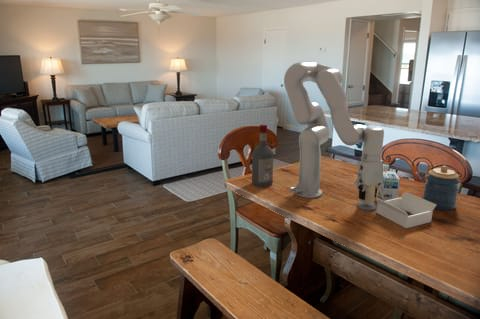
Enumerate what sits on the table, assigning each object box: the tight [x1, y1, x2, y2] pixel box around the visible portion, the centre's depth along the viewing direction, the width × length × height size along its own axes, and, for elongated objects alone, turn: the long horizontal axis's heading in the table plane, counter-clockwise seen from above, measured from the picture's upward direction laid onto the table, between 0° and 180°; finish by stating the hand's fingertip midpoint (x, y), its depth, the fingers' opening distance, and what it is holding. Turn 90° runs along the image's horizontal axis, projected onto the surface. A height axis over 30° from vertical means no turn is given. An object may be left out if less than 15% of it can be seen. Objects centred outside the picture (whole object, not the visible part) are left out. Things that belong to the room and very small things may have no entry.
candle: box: [359, 184, 376, 204], centre depth 154 cm, size 6×6×10 cm
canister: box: [421, 165, 461, 211], centre depth 155 cm, size 13×13×18 cm
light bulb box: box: [378, 170, 401, 201], centre depth 165 cm, size 11×7×11 cm, turn 168°
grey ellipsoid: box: [356, 200, 377, 212], centre depth 156 cm, size 8×8×1 cm
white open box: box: [374, 190, 436, 229], centre depth 145 cm, size 16×15×7 cm
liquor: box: [251, 124, 275, 188], centre depth 178 cm, size 9×9×30 cm
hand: (367, 197), depth 155 cm, fingers closed on candle, 5 cm apart
